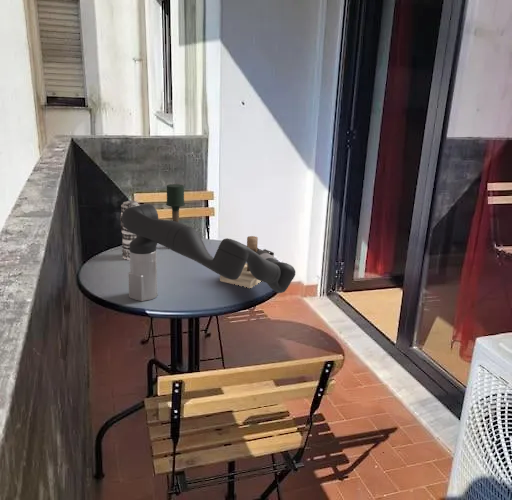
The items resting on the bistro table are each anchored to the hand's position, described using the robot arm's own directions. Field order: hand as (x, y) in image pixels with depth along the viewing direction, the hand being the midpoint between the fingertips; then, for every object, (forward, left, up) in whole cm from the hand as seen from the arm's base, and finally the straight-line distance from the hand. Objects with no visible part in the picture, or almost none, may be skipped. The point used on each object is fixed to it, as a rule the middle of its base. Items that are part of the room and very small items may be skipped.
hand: (249, 249), depth 200 cm
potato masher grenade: (+10, +46, -11) cm, 49 cm away
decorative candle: (-12, +53, -11) cm, 56 cm away
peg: (-2, -2, -8) cm, 8 cm away
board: (-5, -2, -10) cm, 12 cm away
